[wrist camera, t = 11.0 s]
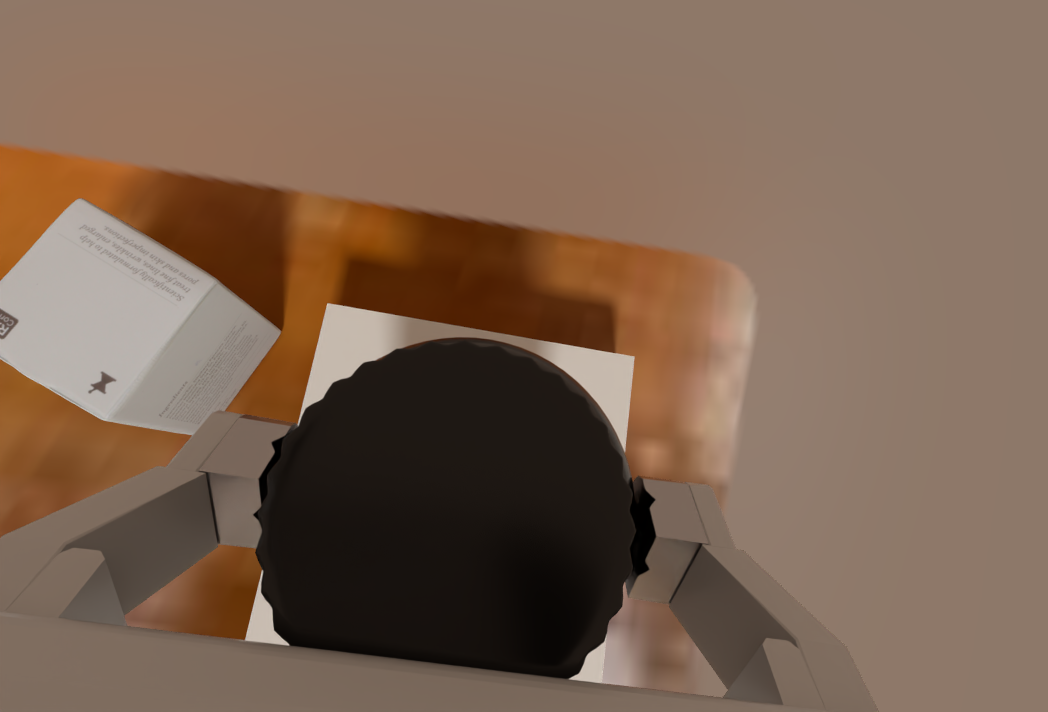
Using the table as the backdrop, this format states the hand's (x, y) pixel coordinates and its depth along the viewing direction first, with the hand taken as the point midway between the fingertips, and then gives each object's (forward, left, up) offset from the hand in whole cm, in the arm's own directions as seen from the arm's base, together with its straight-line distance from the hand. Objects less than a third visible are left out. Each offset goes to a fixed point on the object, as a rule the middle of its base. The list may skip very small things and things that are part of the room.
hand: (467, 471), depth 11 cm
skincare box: (-14, +4, -15) cm, 21 cm away
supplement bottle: (0, -1, -8) cm, 8 cm away
